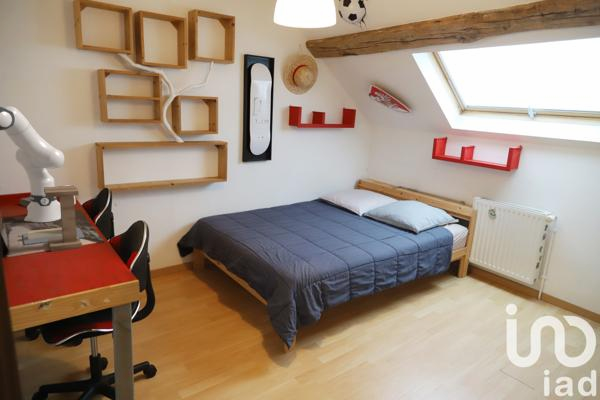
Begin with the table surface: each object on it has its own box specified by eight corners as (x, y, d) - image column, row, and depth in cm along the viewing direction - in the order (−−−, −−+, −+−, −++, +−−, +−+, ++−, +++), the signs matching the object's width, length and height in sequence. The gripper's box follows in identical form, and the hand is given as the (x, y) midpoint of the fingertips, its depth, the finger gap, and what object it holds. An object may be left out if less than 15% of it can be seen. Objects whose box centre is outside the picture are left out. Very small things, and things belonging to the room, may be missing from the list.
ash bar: (27, 237, 191) (27, 231, 190) (76, 231, 203) (75, 226, 202) (28, 239, 189) (27, 233, 188) (77, 233, 200) (76, 227, 200)
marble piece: (35, 209, 239) (34, 202, 238) (14, 207, 242) (13, 200, 241) (57, 203, 254) (57, 196, 253) (38, 201, 257) (37, 194, 257)
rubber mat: (23, 235, 195) (22, 234, 195) (79, 228, 209) (79, 227, 209) (24, 245, 183) (24, 244, 183) (84, 237, 197) (84, 237, 196)
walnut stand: (48, 243, 187) (43, 187, 181) (77, 239, 194) (74, 185, 188) (50, 251, 178) (46, 192, 172) (81, 247, 185) (78, 190, 179)
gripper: (-41, 197, 164) (-4, 182, 170) (-40, 188, 179) (-6, 174, 186) (-31, 211, 166) (5, 195, 173) (-31, 201, 182) (2, 186, 189)
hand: (0, 184), depth 180 cm, fingers open, 8 cm apart
